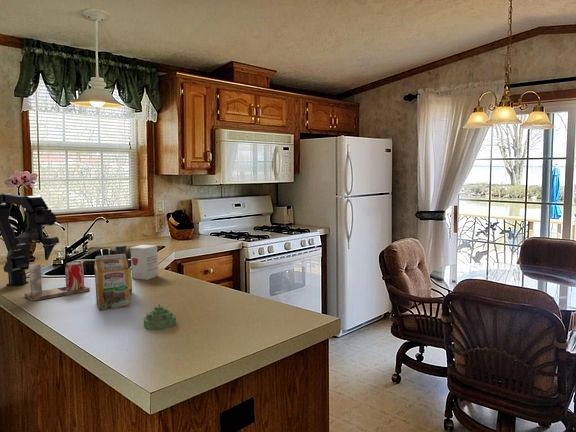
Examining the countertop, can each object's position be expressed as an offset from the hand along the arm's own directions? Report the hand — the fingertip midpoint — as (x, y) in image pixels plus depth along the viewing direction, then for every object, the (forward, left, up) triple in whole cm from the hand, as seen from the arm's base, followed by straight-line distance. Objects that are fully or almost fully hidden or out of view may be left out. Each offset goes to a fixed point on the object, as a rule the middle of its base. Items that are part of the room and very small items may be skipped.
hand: (37, 260), depth 208 cm
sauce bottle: (+44, -6, -12) cm, 46 cm away
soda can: (+21, -5, -12) cm, 25 cm away
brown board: (+17, -10, -12) cm, 23 cm away
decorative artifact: (+77, -43, -12) cm, 89 cm away
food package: (+49, -23, -12) cm, 56 cm away
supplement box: (+38, +24, -12) cm, 47 cm away
